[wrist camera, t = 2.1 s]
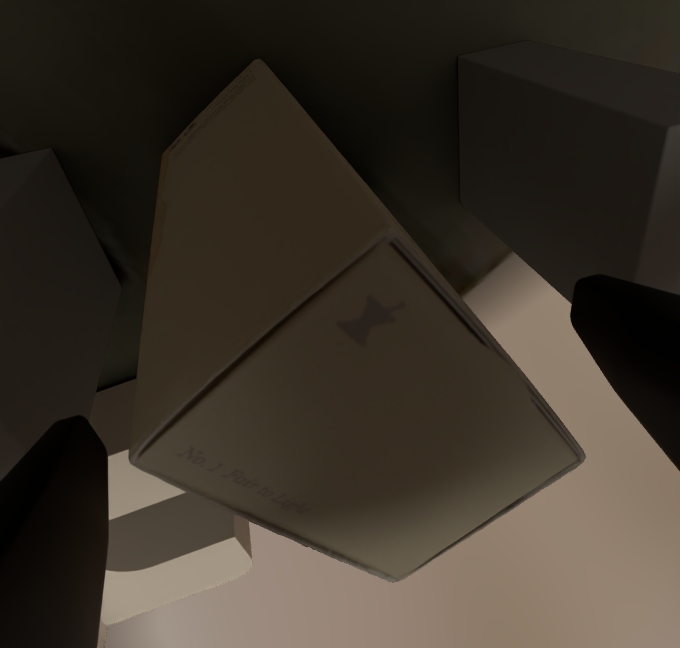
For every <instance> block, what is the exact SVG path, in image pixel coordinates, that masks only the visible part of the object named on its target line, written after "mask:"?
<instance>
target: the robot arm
mask: <svg viewBox="0 0 680 648" xmlns="http://www.w3.org/2000/svg"><path fill="white" fill-rule="evenodd" d="M570 318H571V323H572V325H573V328H574V329H575V331H576V332H577V334H578V336H579V337H580V338H581V340H582V341H583V343H584V345H585V346H586V348H587V349H588V351H589V352H590V354H591V356H592V357H593V359H594V360H595V362H596V363H597V365H598V366H599V368H600V370H601V371H602V373H603V374H604V376H605V377H606V379H607V380H608V382H609V383H610V385H611V386H612V388H613V389H614V391H615V392H616V393H617V394H618V396H619V397H620V398H621V399H622V401H623V402H624V403H625V405H626V406H627V407H628V408H629V409H630V411H631V412H632V413H633V414H634V416H635V417H636V418H637V419H638V421H639V422H640V423H641V424H642V425H643V427H644V428H645V429H646V430H647V432H648V433H649V434H650V435H651V437H652V438H653V439H654V440H655V441H656V443H657V444H658V445H659V446H660V448H662V450H663V451H664V453H665V454H666V455H667V456H668V457H669V459H670V460H671V461H672V462H673V463H674V465H675V466H676V467H677V469H678V470H679V471H680V295H678V294H675V293H671V292H667V291H663V290H660V289H656V288H652V287H648V286H645V285H641V284H637V283H634V282H630V281H626V280H622V279H619V278H615V277H611V276H607V275H604V274H595V275H591V276H587V277H584V278H581V279H579V280H577V282H576V283H575V286H574V292H573V299H572V306H571V313H570ZM108 541H109V497H108V454H107V450H106V447H105V445H104V443H103V442H102V441H101V439H100V438H99V436H98V435H97V433H96V432H95V430H94V429H93V427H92V426H91V424H90V423H89V421H88V420H87V419H86V418H85V417H84V416H82V415H76V416H72V417H68V418H64V419H61V420H58V421H56V422H55V423H54V424H53V425H52V426H51V427H50V428H49V429H48V430H47V431H46V432H45V433H44V434H43V435H42V436H41V438H40V439H39V440H38V441H37V442H36V443H35V444H34V445H33V446H32V447H31V448H30V449H29V451H28V452H27V453H26V454H25V455H24V456H23V457H22V458H21V459H20V460H19V461H18V463H17V464H16V465H15V466H14V467H13V468H12V469H11V470H10V471H9V472H8V473H7V474H6V476H5V477H4V478H3V479H2V480H1V481H0V648H97V645H98V636H99V627H100V618H101V609H102V600H103V590H104V581H105V572H106V563H107V553H108Z"/></svg>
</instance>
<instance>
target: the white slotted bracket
mask: <svg viewBox="0 0 680 648" xmlns="http://www.w3.org/2000/svg"><path fill="white" fill-rule="evenodd" d="M136 380H137V379H134V380H131V381H128V382H125V383H122V384H120V385H117V386H114V387H111V388H108V389H106V390H103V391H100V392H97V393H96V394H95V398H94V402H93V406H92V410H91V415H90V419H89V423H90V424H91V426H92V427H93V429H94V430H95V432H96V433H97V435H98V436H99V438H100V439H101V441H102V442H103V443H104V445H105V447H106V450H107V454H108V497H109V541H108V553H107V563H106V572H105V581H104V590H103V600H102V609H101V618H100V627H99V636H98V645H97V648H105V642H106V635H107V628H108V626H109V625H112V624H115V623H117V622H120V621H123V620H126V619H128V618H131V617H134V616H136V615H139V614H142V613H144V612H147V611H150V610H153V609H156V608H158V607H161V606H164V605H166V604H169V603H172V602H174V601H177V600H180V599H183V598H185V597H188V596H191V595H194V594H196V593H199V592H202V591H205V590H207V589H210V588H213V587H216V586H218V585H221V584H224V583H226V582H229V581H232V580H235V579H237V578H239V577H241V576H243V575H244V574H246V573H247V572H248V571H249V570H250V568H251V566H252V554H251V542H250V531H249V521H248V520H247V519H244V518H242V517H240V516H237V515H234V514H232V513H230V512H228V511H226V510H224V509H221V508H219V507H217V506H215V505H213V504H211V503H208V502H205V501H203V500H202V499H199V498H196V497H194V496H192V495H190V494H189V493H187V492H185V491H183V490H181V489H179V488H177V487H175V486H172V485H170V484H168V483H166V482H164V481H162V480H161V479H159V478H157V477H155V476H152V475H150V474H148V473H146V472H143V471H141V470H139V469H138V468H136V467H134V466H133V465H131V464H130V462H129V459H128V456H129V444H130V434H131V424H132V413H133V404H134V398H135V390H136Z"/></svg>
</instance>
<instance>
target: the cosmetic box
mask: <svg viewBox="0 0 680 648" xmlns="http://www.w3.org/2000/svg"><path fill="white" fill-rule="evenodd" d="M585 458H586V456H585V453H584V451H583V450H582V448H581V447H580V445H579V444H578V443H577V441H576V440H575V439H574V437H573V436H572V435H571V433H570V432H569V431H568V429H567V428H566V427H565V425H564V424H563V423H562V421H561V420H560V419H559V417H558V416H557V415H556V414H555V412H554V411H553V410H552V408H551V407H550V406H549V404H548V403H547V402H546V401H545V399H544V398H543V397H542V395H541V394H540V393H539V392H538V390H537V389H536V388H535V387H534V385H533V384H532V383H531V382H530V380H529V379H528V378H527V377H526V375H525V374H524V373H523V372H522V371H521V370H520V368H519V367H518V366H517V365H516V363H515V362H514V361H513V360H512V359H511V357H510V356H509V355H508V354H507V353H506V351H505V350H504V349H503V348H502V347H501V345H500V344H499V343H498V342H497V341H496V339H495V338H494V337H493V336H492V335H491V333H490V332H489V331H488V330H487V329H486V327H485V326H484V325H483V324H482V322H481V321H480V320H479V319H478V318H477V317H476V315H475V314H474V313H473V312H472V310H471V309H470V308H469V307H468V306H467V304H466V303H465V302H464V301H463V300H462V298H461V297H460V296H459V295H458V294H457V292H456V291H455V290H454V289H453V288H452V286H451V285H450V284H449V283H448V282H447V280H446V279H445V278H444V277H443V276H442V275H441V273H440V272H439V271H438V270H437V269H436V267H435V266H434V265H433V264H432V262H431V261H430V260H429V259H428V258H427V256H426V255H425V254H424V253H423V251H422V250H421V249H420V248H419V247H418V245H417V244H416V243H415V242H414V241H413V239H412V238H411V237H410V236H409V235H408V233H407V232H406V231H405V230H404V229H403V227H402V226H401V225H400V224H399V222H398V221H397V220H396V219H395V218H394V216H393V215H392V214H391V213H390V212H389V210H388V209H387V208H386V207H385V206H384V204H383V203H382V202H381V201H380V200H379V198H378V197H377V196H376V195H375V194H374V192H373V191H372V190H371V189H370V188H369V187H368V185H367V184H366V183H365V182H364V181H363V179H362V178H361V177H360V176H359V175H358V173H357V172H356V171H355V170H354V169H353V168H352V166H351V165H350V164H349V163H348V162H347V160H346V159H345V158H344V157H343V156H342V155H341V153H340V152H339V151H338V150H337V149H336V147H335V146H334V145H333V144H332V142H331V141H330V140H329V139H328V138H327V136H326V135H325V134H324V133H323V132H322V130H321V129H320V128H319V127H318V126H317V124H316V123H315V122H314V121H313V120H312V118H311V117H310V116H309V115H308V114H307V112H306V111H305V110H304V109H303V108H302V106H301V105H300V104H299V103H298V102H297V100H296V99H295V98H294V97H293V96H292V94H291V93H290V92H289V91H288V90H287V89H286V87H285V86H284V85H283V84H282V83H281V81H280V80H279V79H278V78H277V77H276V76H275V74H274V73H273V72H272V71H271V70H270V69H269V68H268V66H267V65H266V64H265V63H264V62H263V61H262V60H261V59H256V60H254V61H253V62H252V63H251V64H250V65H249V66H248V67H247V68H246V69H245V70H244V71H242V72H241V73H240V74H239V75H238V76H237V77H236V78H235V79H234V80H233V81H232V82H231V83H230V84H229V85H228V86H227V87H226V88H225V89H224V90H223V91H222V92H221V93H220V94H219V95H218V96H217V97H216V98H215V99H214V100H213V101H212V102H211V103H210V104H209V105H208V106H207V107H206V108H205V109H204V110H203V111H202V112H201V113H200V114H199V115H198V116H197V117H196V118H195V119H194V120H193V121H192V122H191V123H190V124H189V125H188V127H187V128H186V129H185V130H184V131H183V132H182V133H181V134H180V135H179V136H178V137H177V139H176V140H175V141H174V142H173V143H172V144H171V145H170V146H169V147H168V148H167V149H166V150H165V152H164V153H163V154H162V158H161V167H160V176H159V183H158V192H157V201H156V210H155V218H154V226H153V234H152V243H151V250H150V260H149V268H148V276H147V289H146V297H145V305H144V314H143V323H142V332H141V340H140V350H139V360H138V368H137V380H136V390H135V398H134V404H133V413H132V424H131V434H130V444H129V456H128V459H129V462H130V464H131V465H133V466H134V467H136V468H138V469H139V470H141V471H143V472H146V473H148V474H150V475H152V476H155V477H157V478H159V479H161V480H162V481H164V482H166V483H168V484H170V485H172V486H175V487H177V488H179V489H181V490H183V491H185V492H187V493H189V494H190V495H192V496H194V497H196V498H199V499H202V500H203V501H205V502H208V503H211V504H213V505H215V506H217V507H219V508H221V509H224V510H226V511H228V512H230V513H232V514H234V515H237V516H240V517H242V518H244V519H247V520H248V521H250V522H252V523H254V524H257V525H259V526H261V527H264V528H266V529H268V530H270V531H272V532H274V533H276V534H279V535H282V536H285V537H287V538H289V539H292V540H294V541H296V542H298V543H300V544H302V545H303V546H305V547H311V548H312V549H313V550H317V551H318V552H321V553H324V554H325V555H328V556H330V557H332V558H335V559H337V560H339V561H341V562H344V563H347V564H349V565H352V566H354V567H356V568H358V569H360V570H363V571H366V572H368V573H370V574H372V575H375V576H378V577H380V578H382V579H385V580H387V581H389V582H398V581H400V580H402V579H404V578H406V577H408V576H410V575H411V574H413V573H415V572H416V571H418V570H419V569H421V568H422V567H424V566H426V565H427V564H428V563H429V562H431V561H432V560H434V559H435V558H437V557H438V556H440V555H442V554H443V553H445V552H446V551H448V550H449V549H451V548H453V547H454V546H456V545H457V544H459V543H461V542H462V541H464V540H466V539H467V538H469V537H470V536H471V535H473V534H474V533H476V532H477V531H479V530H481V529H483V528H484V527H486V526H487V525H489V524H490V523H491V522H493V521H495V520H496V519H498V518H499V517H501V516H503V515H504V514H506V513H507V512H509V511H511V510H512V509H514V508H515V507H517V506H518V505H520V504H521V503H522V502H524V501H525V500H527V499H528V498H530V497H532V496H533V495H535V494H536V493H538V492H539V491H540V490H542V489H544V488H545V487H547V486H549V485H550V484H552V483H554V482H555V481H557V480H558V479H560V478H561V477H562V476H564V475H565V474H567V473H568V472H570V471H572V470H574V469H576V468H577V467H578V466H579V465H580V464H581V463H583V462H584V460H585Z"/></svg>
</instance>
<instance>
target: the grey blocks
mask: <svg viewBox="0 0 680 648" xmlns="http://www.w3.org/2000/svg"><path fill="white" fill-rule="evenodd" d="M458 102H459V164H460V203H461V204H462V205H463V206H464V207H465V208H466V209H467V210H468V211H469V212H470V213H472V214H473V215H474V216H475V217H476V218H477V219H478V220H479V221H480V222H482V223H483V224H484V225H485V226H486V227H487V228H488V229H489V230H490V231H491V232H493V233H494V234H495V235H496V236H497V237H498V238H499V239H500V240H501V241H503V242H504V243H505V244H506V245H507V246H508V247H509V248H510V249H511V250H513V251H514V252H515V253H516V254H517V255H518V256H519V257H520V258H521V259H522V260H524V261H525V262H526V263H527V264H528V265H529V266H530V267H531V268H532V269H534V270H535V271H536V272H537V273H538V274H539V275H540V276H542V278H543V279H545V280H546V281H547V282H548V283H549V284H550V285H551V286H552V287H553V288H555V289H556V290H557V291H558V292H559V293H560V294H561V295H562V296H563V297H565V298H566V299H567V300H568V301H569V302H570V303H571V304H572V299H573V292H574V286H575V283H576V282H577V280H579V279H581V278H584V277H587V276H591V275H595V274H604V275H607V276H611V277H615V278H619V279H622V280H626V281H630V282H634V283H637V284H641V285H645V286H648V287H652V288H656V289H660V290H663V291H667V292H671V293H675V294H678V295H680V73H675V72H671V71H666V70H661V69H657V68H652V67H648V66H643V65H638V64H634V63H629V62H625V61H620V60H616V59H611V58H606V57H602V56H597V55H593V54H588V53H583V52H579V51H574V50H570V49H565V48H561V47H556V46H551V45H547V44H542V43H538V42H533V41H529V40H526V41H522V42H518V43H513V44H509V45H504V46H500V47H495V48H491V49H486V50H482V51H477V52H473V53H469V54H464V55H460V56H458ZM121 290H122V287H121V285H120V283H119V281H118V279H117V277H116V275H115V273H114V271H113V269H112V267H111V265H110V263H109V261H108V259H107V257H106V255H105V253H104V251H103V249H102V247H101V245H100V243H99V241H98V239H97V237H96V235H95V233H94V231H93V229H92V227H91V225H90V223H89V221H88V219H87V217H86V215H85V213H84V211H83V209H82V207H81V205H80V203H79V202H78V200H77V198H76V196H75V194H74V192H73V190H72V188H71V186H70V184H69V182H68V180H67V178H66V176H65V174H64V172H63V170H62V168H61V166H60V164H59V162H58V160H57V158H56V156H55V154H54V152H53V150H52V148H46V149H42V150H37V151H33V152H28V153H24V154H20V155H15V156H11V157H6V158H2V159H0V481H1V480H2V479H3V478H4V477H5V476H6V474H7V473H8V472H9V471H10V470H11V469H12V468H13V467H14V466H15V465H16V464H17V463H18V461H19V460H20V459H21V458H22V457H23V456H24V455H25V454H26V453H27V452H28V451H29V449H30V448H31V447H32V446H33V445H34V444H35V443H36V442H37V441H38V440H39V439H40V438H41V436H42V435H43V434H44V433H45V432H46V431H47V430H48V429H49V428H50V427H51V426H52V425H53V424H54V423H55V422H56V421H58V420H61V419H64V418H68V417H72V416H76V415H82V416H84V417H85V418H86V419H87V420H88V421H89V419H90V415H91V410H92V406H93V402H94V398H95V394H96V390H97V386H98V382H99V378H100V374H101V370H102V366H103V362H104V358H105V354H106V350H107V346H108V342H109V338H110V334H111V330H112V326H113V322H114V318H115V314H116V310H117V306H118V302H119V298H120V294H121Z"/></svg>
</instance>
